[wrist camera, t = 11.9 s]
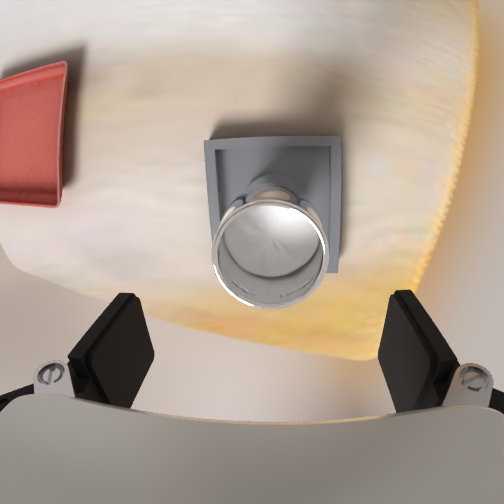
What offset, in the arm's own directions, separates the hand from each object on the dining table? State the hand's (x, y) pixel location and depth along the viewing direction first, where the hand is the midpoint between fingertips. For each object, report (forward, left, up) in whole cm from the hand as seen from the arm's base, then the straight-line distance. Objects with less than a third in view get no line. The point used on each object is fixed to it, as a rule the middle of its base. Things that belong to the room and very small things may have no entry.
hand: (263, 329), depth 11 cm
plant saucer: (-12, -32, -23) cm, 41 cm away
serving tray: (0, 0, -22) cm, 22 cm away
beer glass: (0, 0, -22) cm, 22 cm away
